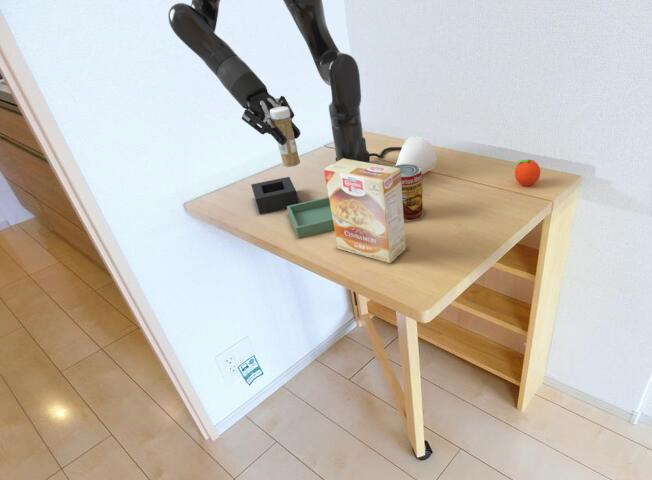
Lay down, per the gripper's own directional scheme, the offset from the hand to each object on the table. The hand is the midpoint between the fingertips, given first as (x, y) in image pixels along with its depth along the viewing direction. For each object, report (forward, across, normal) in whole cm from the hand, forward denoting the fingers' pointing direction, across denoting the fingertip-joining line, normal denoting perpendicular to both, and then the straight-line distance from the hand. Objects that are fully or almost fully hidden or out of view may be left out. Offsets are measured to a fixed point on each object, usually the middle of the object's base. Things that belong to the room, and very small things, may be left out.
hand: (291, 139), depth 106 cm
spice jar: (+3, 0, +6) cm, 7 cm away
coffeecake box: (+33, -9, -4) cm, 34 cm away
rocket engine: (+24, +28, +4) cm, 38 cm away
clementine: (+48, +38, -20) cm, 64 cm away
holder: (+5, +2, +23) cm, 24 cm away
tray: (+18, -2, +10) cm, 21 cm away
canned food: (+32, +10, -4) cm, 34 cm away
